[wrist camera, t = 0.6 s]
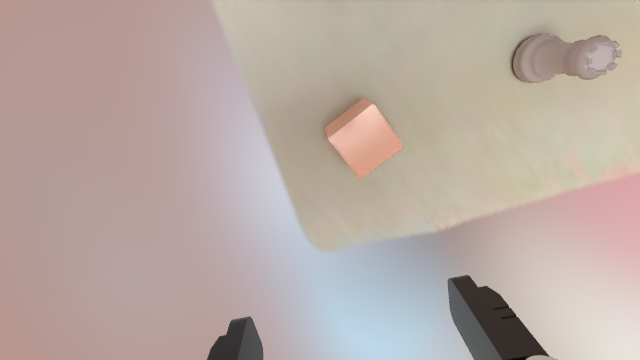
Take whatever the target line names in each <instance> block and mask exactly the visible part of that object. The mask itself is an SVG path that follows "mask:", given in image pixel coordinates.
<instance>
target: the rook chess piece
mask: <svg viewBox="0 0 640 360" xmlns="http://www.w3.org/2000/svg"><path fill="white" fill-rule="evenodd" d="M618 46H619V44H618V43H617V42H616V41H611V40H610V39H609V38H608V37H606V36H601V35H598V36H594V37H591V38H589V39H588V40H579V41H575V42H574V43H565V42H564V41H563V40H561V39H560V38H559V37H557V36H554V35H549V34H546V35H542V34H539V35H535V36H531V37H530V38H528V39H527V40H525V41H524V42H523V43H522V44H521V46H520V47H519V48H518V49H517V51H516V54H515V57H514V60H513V68H514V71H515V74H516V76H517V77H518V78H519V79H521V80H522V81H523V82H529V83H532V82H536V83H538V82H542V81H546V80H549V79H550V78H552V77H554V76H556V75H557V74H564V73H566V74H567V75H569V76H578V77H579V78H581V79H585V80H590V79H594V78H597V77H598V76H600V75H604V74H606V70H613V69H614V68H615V67H616V65H617V64H616V63H613V61H614V59H615V57H621V51H616V50H615V48H616V47H618Z"/></svg>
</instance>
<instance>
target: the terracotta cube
mask: <svg viewBox="0 0 640 360" xmlns="http://www.w3.org/2000/svg"><path fill="white" fill-rule="evenodd" d="M324 129H325V132H326V135H327V138H328V140H329V141H330V142H331V144H332V145H333V146H334V147H335V149H336V150H337V151H338V152H339V154H340V155H341V156H342V157H343V159H344V160H345V161H346V163H347V164H348V165H349V166H350V168H351V169H352V170H353V171H354V173H355V174H356V175H357V176H358V178H359V179H361V178H363V177H364V176H365V175H367V174H368V173H370V172H371V171H372V170H374V169H375V168H376V167H378V166H379V165H381V164H382V163H383V162H385V161H386V160H387V159H389V158H390V157H391V156H393V155H394V154H396V153H397V152H398V151H400V150H401V149H402V148H404V146H403V145H402V143H401V142H400V140H399V139H398V138H397V136H396V135H395V133H394V132H393V130H392V129H391V128H390V126H389V125H388V123H387V122H386V120H385V119H384V118H383V116H382V115H381V113H380V112H379V110H378V109H377V108H376V106H375V105H374V103H372V102H370V101H368V100H367V99H365V98H362V99H361V100H359V101H358V102H357V103H356V104H354V105H353V106H352V107H351V108H349V109H348V110H347V111H345V112H344V113H343V114H342V115H340V116H339V117H338V118H337V119H335V120H334V121H333V122H331V123H330V124H329V125H328V126H326V127H325V128H324Z"/></svg>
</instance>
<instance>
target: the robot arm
mask: <svg viewBox="0 0 640 360" xmlns="http://www.w3.org/2000/svg"><path fill="white" fill-rule="evenodd" d="M448 291H449V303H450V311H451V315H452V318H453V321H454V323H455V325H456V327H457V329H458V331H459V332H460V334H461V336H462V338H463V340H464V342H465V344H466V345H467V347H468V349H469V351H470V353H471V354H472V356H473V358H474V360H557V359H554V358H552V357H550V356H549V355H548V354H547V353H546V352H545V350H544V349H543V348H542V347H541V345H540V344H539V343H538V342H537V340H536V339H535V338H534V337H533V335H532V334H531V333H530V332H529V331H528V329H527V328H526V327H525V326H524V324H523V323H522V322H521V320H520V319H519V318H518V317H516V314H515V313H514V312H513V311H512V309H511V308H509V306H508V304H507V303H506V302H505V301H504V300H503V298H502V297H501V296H500V295H499V294H498V293H497V292H495V291H493V290H492V289H490V288H488V287H487V286H484V287H479V288H478V287H477V286H476V284H475V283H474V281H473V280H472V279H471V278H470V276H468V275H465V276H460V277H454V278H449V279H448ZM207 360H263V347H262V343H261V340H260V338H259V335H258V333H257V330H256V327H255V325H254V322H253V320H252V318H251V317H245V318H240V319H235V320H232V321H231V322H230V324H229V328H228V331H227V334H226V335H224V336H220V337H219V338H218V339H217V341H216V342H215V344H214V345H213V346H212V348H211V350H210V353H209V356H208V359H207Z"/></svg>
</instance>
